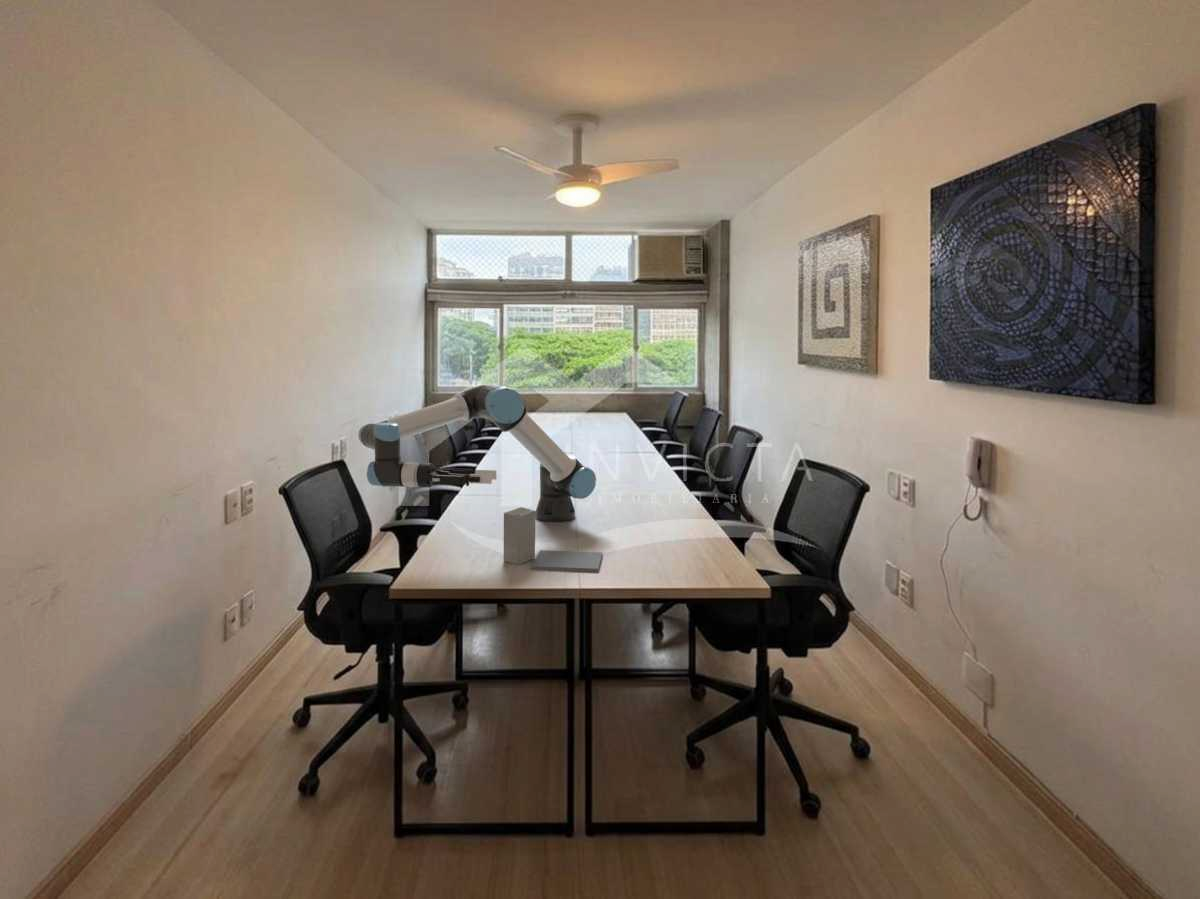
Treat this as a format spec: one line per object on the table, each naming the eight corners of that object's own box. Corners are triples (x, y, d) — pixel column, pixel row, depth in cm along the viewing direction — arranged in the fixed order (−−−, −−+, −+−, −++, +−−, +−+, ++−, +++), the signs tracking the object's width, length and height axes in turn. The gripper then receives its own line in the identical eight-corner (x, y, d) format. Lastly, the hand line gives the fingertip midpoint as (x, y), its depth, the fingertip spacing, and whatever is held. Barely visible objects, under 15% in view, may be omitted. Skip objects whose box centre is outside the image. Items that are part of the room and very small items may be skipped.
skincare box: (519, 555, 227) (519, 506, 225) (537, 559, 223) (537, 509, 221) (501, 561, 220) (501, 511, 218) (519, 566, 216) (519, 515, 214)
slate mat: (531, 569, 214) (531, 566, 213) (539, 553, 229) (539, 550, 229) (598, 571, 212) (598, 568, 212) (602, 555, 228) (602, 552, 228)
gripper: (429, 480, 230) (500, 482, 228) (409, 493, 211) (486, 496, 210) (428, 457, 229) (500, 459, 227) (408, 468, 210) (486, 470, 208)
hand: (493, 477), depth 218 cm, fingers open, 6 cm apart
